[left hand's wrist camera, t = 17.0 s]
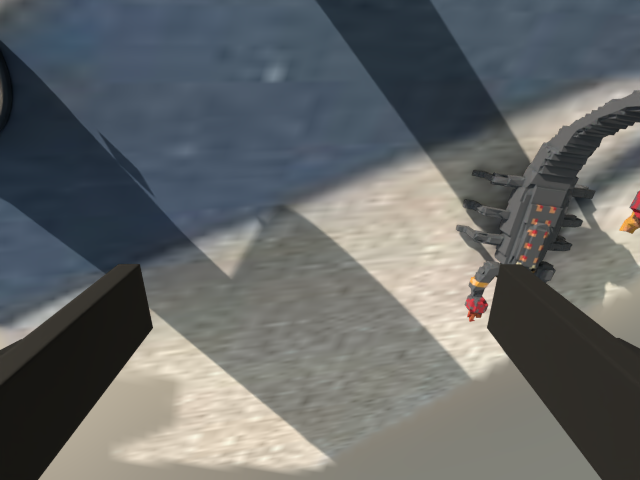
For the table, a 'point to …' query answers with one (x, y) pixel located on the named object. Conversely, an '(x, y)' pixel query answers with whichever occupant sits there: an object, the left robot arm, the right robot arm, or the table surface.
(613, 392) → the left robot arm
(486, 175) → the toy
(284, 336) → the table surface
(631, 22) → the table surface
